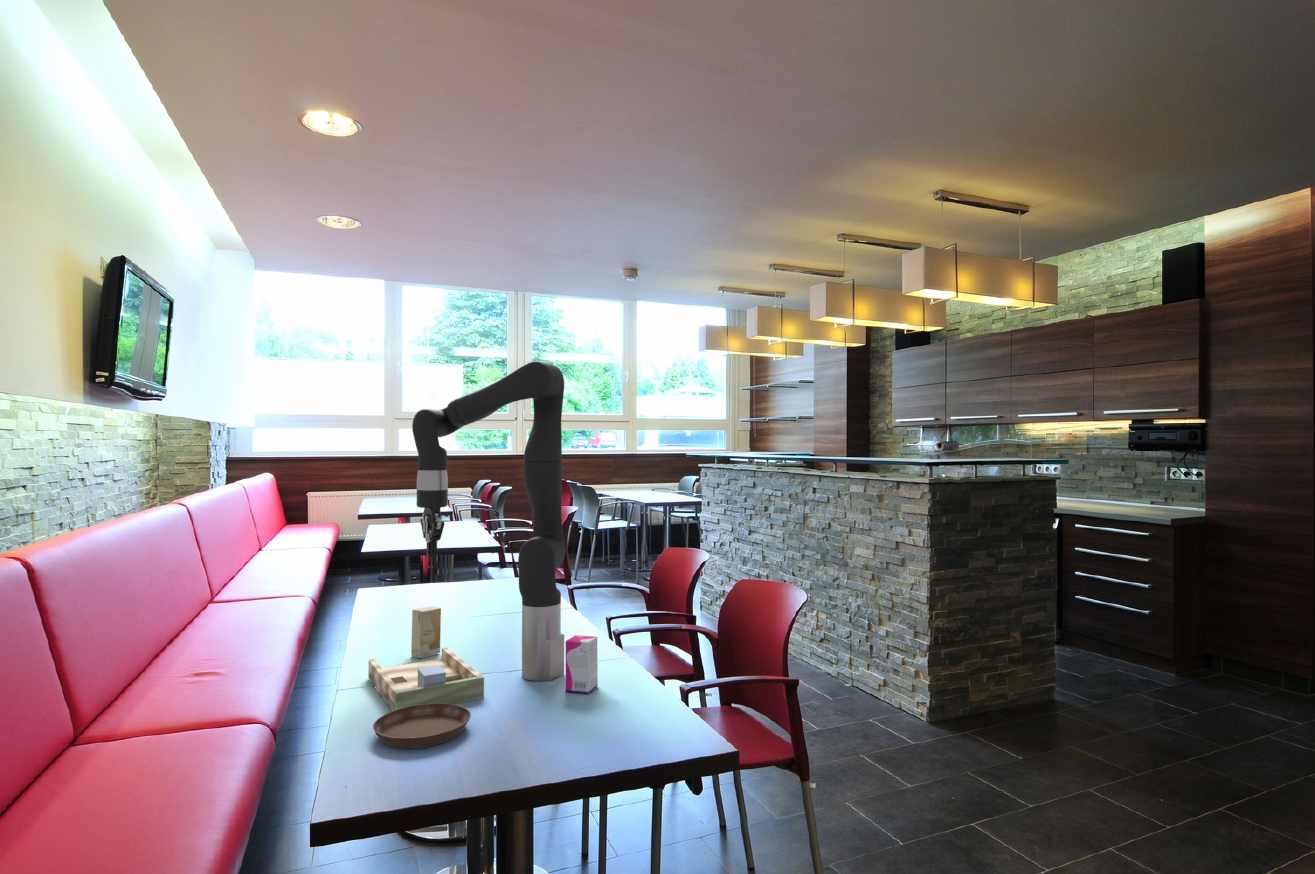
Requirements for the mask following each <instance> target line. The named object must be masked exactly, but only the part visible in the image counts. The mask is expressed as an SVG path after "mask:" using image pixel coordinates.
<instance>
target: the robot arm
mask: <svg viewBox="0 0 1315 874" xmlns="http://www.w3.org/2000/svg"><path fill="white" fill-rule="evenodd" d="M564 393H565V378H564V375H563V372H562V370H561V369H560V368H559V367H558V366H556V365H555V364H552V363H548V362H545V361H541V360H533V361H529V362H527V363H525V364H524V365H522V366H520V367H519V368H517V369H515V370H514V371H512V372H511V373H509V374H508V375H505V376H504V377H502V378H500V379H499V380H497V381H495V382H493V383H491V384H489V385H487V386H484V387H482V388H480V389H477V390H475V391H472V392H470V393H467V394H465V395H463V396H459V397H458V398H455V399H453V400H452V401H450V402H448V404H447V406H446V407H443V408H441V409H432V408H431V409H430V408H423V409H422V408H421V409H420V410H418V411H417V412H416V413H415V415H414V417H413V419H412V423H411V424H412V426H411V427H412V429H411V430H412V434H413V438H414V439H413V440H414V444H415V448H416V450H417V454H418V455H417V475H416V476H417V477H416V507H417V508H421V509H423V513H422V516H421V518H420V519H419V521H420V526H421V530H422V535H423V536H422V537H423V539H425V542H426V557H428V558H436V557H437V556H438V542H439V541H441V538H442V536H443V535H442V534H443V532H444V527H445V521H443V514H442V513H441V512H442V511H441V508H447V506H448V505H449V503H448V501H449V499H448V497H449V488H448V487H449V477H448V453H447V452H448V451H447V449H446V448H445V447H442V446H441V445H440V441H439V438H442V437H446V436H449V435H451V434H453V433H455V432H457V431H458V430H459V429H462V428H463V427H464V426H467V425H471V424H473V423H477V422H478V421H480V420H484V419H485V418H487V417H489V416H490V415H492V414H494V413H495V412H497V411H498V410H499V409H501V408H503V407H505V406H506V405H507V406H508V404H511V403H515V402H518V401H524V400H529V399H532V402H533V422H532V427H531V429H530V433H529V436H528V439H527V442H526V445H525V449H524V454H523V482H524V483H523V484H524V487H525V491H526V494H527V497H528V500H529V503H530V507H531V510H532V521H533V523H532V525H533V526H532V537H531V538H528V539H527V540H526V541H525V542H524V543H523V544H522V545H521V546H520V548H519V552H518V557H517V558H518V559H517V561H518V563H517V568H518V570H517V572H518V574H517V575H518V589H519V590H518V591H519V593H520V595H521V602H522V603H521V677H522V678H523V679H525V680H528V681H535V682H537V681H538V682H539V681H541V682H543V681H547V682H550V681H553V680H555V679H556V678H558V677H560V676H562V675H565V634H564V633H562V630H561V626H562V625H561V621H562V617H561V616H562V615H561V611H562V609H561V607H562V594H561V593H562V592H561V590H560V589H558V587H557V584H556V583H557V582H556V577H557V576H556V570H558V569H559V568H560V567H561V565H562V564H563V562H564V559H565V557H566V555H565V554H566V547H565V539H564V528H563V519H562V515H563V514H562V509H563V508H562V505H563V493H562V491H563V455H562V453H563V452H562V451H563V450H562V449H563V447H562V446H563V444H562V443H563V441H562V439H563V437H562V436H563V433H562V412H563V403H564Z"/></svg>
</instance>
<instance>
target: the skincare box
mask: <svg viewBox="0 0 1315 874" xmlns="http://www.w3.org/2000/svg"><path fill="white" fill-rule="evenodd" d="M411 613H412V615H411V616H412V619H411V645H410V646H411V649H410V652H411V654H410V656H411V657H414V658H418V659H420V658H421V659H424V658H429V657H432V655H433V656H436V655H435V654H437V655H439V654H438V653H440V654H441V631H442V630H441V624H442V623H441V622H442V621H441V617H442V616H441V615H442V608H441V607H438V606H433V605H431V606H425V607H424V606H423V607H420V608H415V609H412V612H411ZM428 656H429V657H428Z"/></svg>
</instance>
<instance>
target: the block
mask: <svg viewBox="0 0 1315 874" xmlns="http://www.w3.org/2000/svg"><path fill="white" fill-rule="evenodd" d="M445 682H446V672H445V671H444V670H443V669H442V668H441V667H440V666H439V665H435V666H429V667H423V668H418V687H423V686H429V685H434V684H440V683H445Z"/></svg>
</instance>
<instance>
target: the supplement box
mask: <svg viewBox="0 0 1315 874" xmlns="http://www.w3.org/2000/svg"><path fill="white" fill-rule="evenodd" d="M598 664H599V663H598V636H596V635H595V636H591V635H577V634H575V635H573V636H572V637H569V639H567V640H565V693H571V694H579V693H582V694H581V695H590V694H591V693H592V692H593V691H595V690H596V689H597V687H598V682H599V680H598ZM596 686H597V687H596ZM583 693H584V694H583ZM589 693H590V694H589Z"/></svg>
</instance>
